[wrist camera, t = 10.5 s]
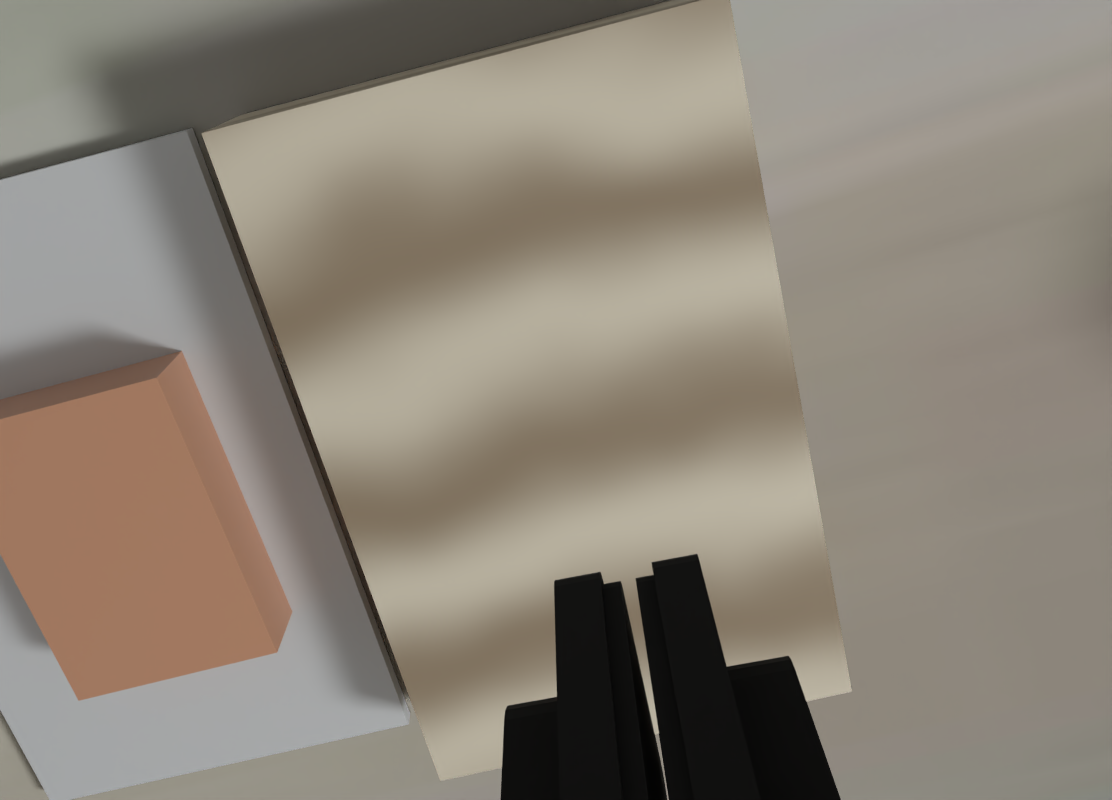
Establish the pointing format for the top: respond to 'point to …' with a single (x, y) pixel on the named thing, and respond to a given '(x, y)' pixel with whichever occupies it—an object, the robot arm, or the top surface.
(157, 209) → the mat
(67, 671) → the tile
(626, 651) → the robot arm
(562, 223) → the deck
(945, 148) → the top surface
